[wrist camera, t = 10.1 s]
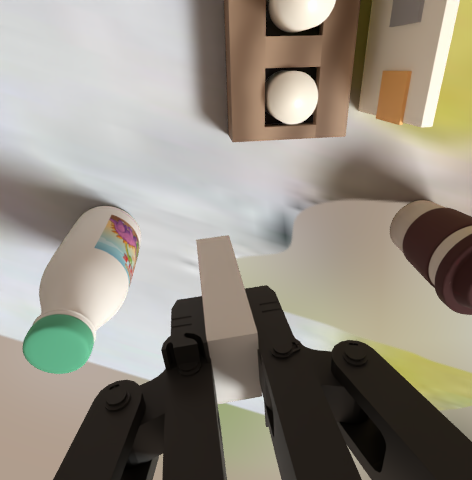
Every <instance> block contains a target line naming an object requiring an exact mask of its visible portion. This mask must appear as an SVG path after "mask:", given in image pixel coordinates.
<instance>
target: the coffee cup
mask: <svg viewBox="0 0 472 480" xmlns="http://www.w3.org/2000/svg"><path fill="white" fill-rule="evenodd" d="M390 236H391V239H392V241H393V243H394V244H395V245H396V246H397V247H398V248H399V249H400V250H401V251H402V252H403V253H404V255H405V257H406V259H407V260H408V261H409V262H410V263H411V264H412V265H413V266H414V267H415V268H416V269H417V271H418V272H420V274H421V275H422V276H423V277H424V278H425V279H426V280H427V281H428V282H429V283H430V284H431V285H432V286H433V287H434V288H435V290H436V293H437V295H438V297H439V298H440V300H441V301H442V302H443V303H445V304H446V305H447V306H448V307H449V308H450V309H452V310H453V311H455V312H457V313H460V314H467V315H472V217H471V216H468V215H466V214H464V213H461V212H459V211H457V210H454V209H451V208H445V207H443V206H440V205H438V204H436V203H433V202H431V201H426V200H419V201H414V202H412V203H409V204H407V205H406V206H404V207H403V208H402V209H400V210H399V212H398V213H397V214H396V215H395V217H394V218H393V220H392V223H391V227H390Z"/></svg>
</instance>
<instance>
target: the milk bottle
mask: <svg viewBox="0 0 472 480" xmlns="http://www.w3.org/2000/svg"><path fill="white" fill-rule="evenodd" d="M140 244H141V231H140V228H139V226H138V224H137V222H136V221H135V220H134V218H133V217H132V216H130V215H129V214H128V213H127V212H125V211H123V210H121V209H119V208H115V207H111V206H99V207H95V208H92V209H90V210H88V211H86V212H85V213H84V214H83V215H81V217H80V218H79V219H78V220H77V222H76V223H75V224H74V226H73V227H72V229H71V230H70V232H69V233H68V235H67V236H66V237H65V239H64V240H63V242H62V243H61V245H60V246H59V248H58V249H57V251H56V252H55V254H54V255H53V257H52V258H51V260H50V262H49V263H48V265H47V267H46V269H45V271H44V273H43V276H42V279H41V283H40V290H39V297H40V304H41V315H40V316H39V317H37V319H36V320H35V321H34V323H33V325H32V327H31V328H30V330H29V331H28V333H27V335H26V337H25V339H24V342H23V353H24V356H25V358H26V359H27V361H29V363H30V364H31V365H33V366H34V367H36V368H37V369H40V370H42V371H45V372H48V373H55V374H63V373H69V372H72V371H75V370H77V369H79V368H80V367H82V366H83V365H84V364H85V363H86V361H87V360H88V358H89V356H90V354H91V351H92V348H93V344H94V342H95V339H96V331H97V329H98V328H99V327H101V326H102V325H103V324H105V323H106V322H107V321H109V320H110V319H111V318H112V317H113V316H114V315H115V314H116V313H117V311H118V310H119V309H120V307H121V306H122V304H123V302H124V300H125V298H126V295H127V292H128V289H129V286H130V283H131V279H132V276H133V272H134V268H135V264H136V260H137V257H138V253H139V248H140Z"/></svg>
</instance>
